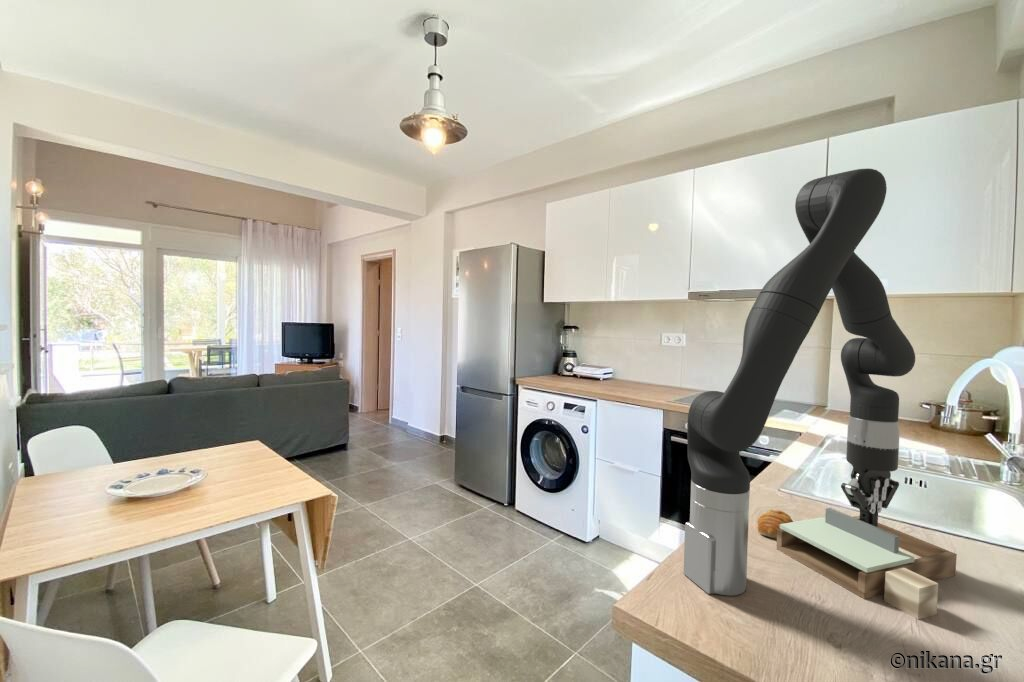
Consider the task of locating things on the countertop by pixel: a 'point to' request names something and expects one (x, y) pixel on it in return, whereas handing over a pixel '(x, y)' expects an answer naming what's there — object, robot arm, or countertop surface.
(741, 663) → the countertop surface
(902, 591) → the block
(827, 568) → the wooden box
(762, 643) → the countertop surface
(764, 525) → the pastry
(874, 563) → the lid
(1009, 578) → the countertop surface
